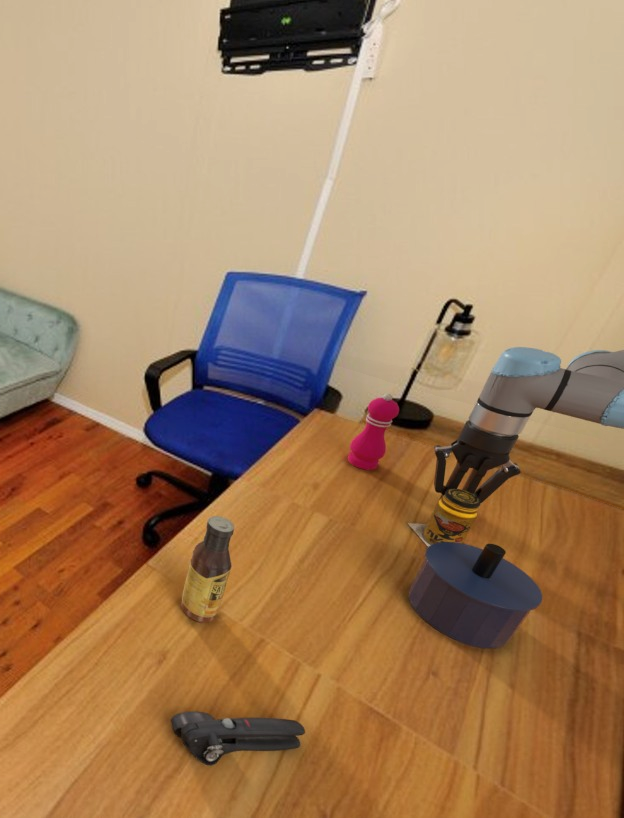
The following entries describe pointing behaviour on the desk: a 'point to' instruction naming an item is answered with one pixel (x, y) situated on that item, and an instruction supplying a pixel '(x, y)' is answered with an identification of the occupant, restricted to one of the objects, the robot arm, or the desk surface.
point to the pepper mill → (373, 433)
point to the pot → (461, 613)
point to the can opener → (233, 734)
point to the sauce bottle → (208, 572)
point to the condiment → (449, 518)
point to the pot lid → (483, 575)
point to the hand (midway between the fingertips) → (442, 521)
